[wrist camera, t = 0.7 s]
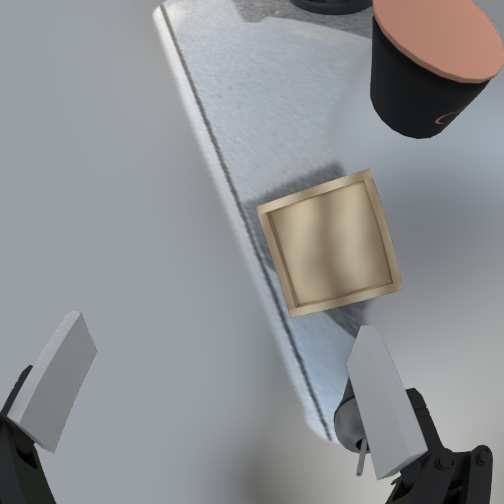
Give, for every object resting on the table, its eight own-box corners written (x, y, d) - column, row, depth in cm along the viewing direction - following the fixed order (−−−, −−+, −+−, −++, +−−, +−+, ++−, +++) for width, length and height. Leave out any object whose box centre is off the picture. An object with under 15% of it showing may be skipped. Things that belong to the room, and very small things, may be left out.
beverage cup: (353, 391, 34) (334, 505, 15) (334, 352, 34) (304, 467, 16) (400, 373, 31) (413, 488, 13) (384, 331, 31) (398, 444, 13)
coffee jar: (426, 158, 27) (487, 110, 10) (354, 108, 29) (346, 21, 12) (458, 99, 23) (513, 30, 7) (390, 54, 26) (399, -39, 9)
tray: (368, 171, 30) (369, 168, 27) (399, 283, 30) (402, 289, 28) (262, 207, 35) (255, 207, 33) (294, 310, 35) (290, 317, 33)
